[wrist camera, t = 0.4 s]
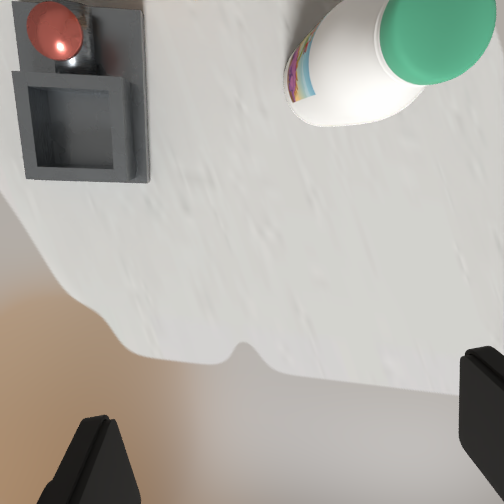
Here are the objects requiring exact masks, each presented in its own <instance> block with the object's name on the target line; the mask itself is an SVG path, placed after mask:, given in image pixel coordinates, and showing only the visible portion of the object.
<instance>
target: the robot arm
mask: <svg viewBox="0 0 504 504" xmlns="http://www.w3.org/2000/svg"><path fill="white" fill-rule="evenodd" d="M459 439H460V442H461V445H462V447H463V448H464V450H465V451H466V453H467V454H468V455H469V457H470V458H471V459H472V460H473V462H474V463H475V464H476V466H477V467H478V468H479V469H480V471H481V472H482V473H483V475H484V476H485V478H486V479H487V480H488V481H489V483H490V484H491V485H492V486H493V488H494V489H495V491H496V492H497V493H498V495H499V496H500V497H501V498H502V500H503V501H504V356H503V355H502V354H501V353H500V352H498V351H497V350H496V349H495V348H493V347H491V346H485V347H479V348H474V349H468V350H467V351H466V352H465V356H462V357H461V359H460V389H459ZM37 504H141V497H140V493H139V489H138V487H137V483H136V480H135V477H134V474H133V471H132V468H131V465H130V462H129V459H128V456H127V453H126V450H125V447H124V443H123V440H122V437H121V434H120V431H119V428H118V425H117V422H116V421H115V419H111V420H110V419H109V417H108V416H107V415H101V416H95V417H90V418H85V419H83V420H82V421H81V423H80V425H79V427H78V429H77V431H76V433H75V435H74V437H73V439H72V441H71V443H70V445H69V447H68V449H67V451H66V453H65V456H64V457H63V460H62V461H61V464H60V466H59V468H58V470H57V472H56V474H55V476H54V478H53V480H52V481H50V482H49V483H48V484H47V485H46V487H45V488H44V490H43V492H42V494H41V496H40V498H39V500H38V502H37Z"/></svg>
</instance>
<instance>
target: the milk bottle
mask: <svg viewBox="0 0 504 504" xmlns="http://www.w3.org/2000/svg"><path fill="white" fill-rule="evenodd" d="M495 22H496V2H495V0H343V1H342V2H340V3H339V4H338V5H336V6H335V7H334V8H333V9H332V10H331V11H330V12H329V13H328V14H327V15H326V16H324V18H323V19H322V20H321V21H320V22H319V23H318V24H317V25H316V26H315V27H314V28H313V30H312V31H311V32H310V33H309V34H308V35H307V36H306V37H305V39H304V40H303V41H302V42H301V43H300V44H299V45H298V47H297V48H296V49H295V51H294V52H293V53H292V55H291V57H290V58H289V60H288V63H287V65H286V68H285V73H284V81H283V85H284V93H285V97H286V100H287V102H288V104H289V106H290V108H291V109H292V111H293V112H294V113H295V114H296V115H297V116H298V117H299V118H300V119H301V120H303V121H304V122H306V123H308V124H311V125H314V126H321V127H333V126H347V125H358V124H366V123H371V122H376V121H380V120H383V119H385V118H388V117H390V116H392V115H394V114H396V113H398V112H400V111H401V110H403V109H404V108H405V107H407V106H408V105H409V104H411V103H412V102H413V101H414V100H415V99H416V98H417V97H418V96H419V95H420V93H421V92H422V91H423V90H424V88H425V87H426V86H428V85H432V84H438V83H442V82H445V81H448V80H451V79H453V78H456V77H458V76H459V75H461V74H463V73H464V72H465V71H467V70H468V69H469V68H470V67H472V66H473V65H474V64H475V63H476V62H477V61H478V59H479V58H480V57H481V56H482V54H483V53H484V51H485V50H486V48H487V46H488V44H489V42H490V40H491V37H492V34H493V31H494V27H495Z"/></svg>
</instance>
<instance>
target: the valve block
mask: <svg viewBox="0 0 504 504" xmlns="http://www.w3.org/2000/svg"><path fill="white" fill-rule="evenodd" d="M12 8H13V16H14V24H15V32H16V40H17V48H18V56H19V63H20V71H12V78H13V85H14V93H15V100H16V108H17V115H18V123H19V130H20V138H21V145H22V153H23V160H24V168H25V175H26V179H34V180H59V181H90V182H122V183H149V182H150V176H149V150H148V123H147V97H146V71H145V44H144V18H143V13H142V12H141V10H132V9H118V8H104V7H89V6H86V5H83V4H80V3H77V2H72V1H65V0H53V1H46V2H42V3H32V2H17V1H12Z"/></svg>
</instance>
